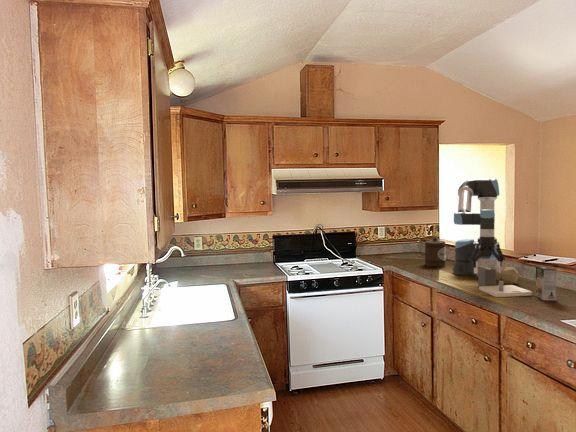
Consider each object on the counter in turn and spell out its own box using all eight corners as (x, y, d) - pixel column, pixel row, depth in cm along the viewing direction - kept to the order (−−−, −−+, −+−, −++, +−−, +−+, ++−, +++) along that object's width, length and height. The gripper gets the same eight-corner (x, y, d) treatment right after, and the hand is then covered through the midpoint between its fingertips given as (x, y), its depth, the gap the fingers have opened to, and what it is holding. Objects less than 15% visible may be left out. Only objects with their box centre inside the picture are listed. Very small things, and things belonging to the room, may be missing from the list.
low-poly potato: (516, 282, 245) (498, 271, 251) (525, 268, 239) (505, 258, 245) (508, 293, 235) (489, 282, 241) (517, 279, 229) (497, 268, 235)
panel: (479, 289, 226) (479, 277, 226) (512, 288, 228) (512, 276, 227) (496, 297, 210) (496, 283, 210) (531, 295, 212) (532, 282, 212)
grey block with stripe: (478, 286, 234) (478, 266, 233) (489, 286, 234) (489, 266, 234) (484, 289, 227) (484, 268, 227) (495, 288, 228) (495, 268, 227)
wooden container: (443, 267, 295) (443, 238, 293) (423, 266, 302) (423, 237, 301) (446, 264, 307) (446, 235, 306) (426, 263, 315) (426, 235, 314)
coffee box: (534, 295, 211) (535, 265, 210) (548, 296, 210) (548, 265, 209) (542, 300, 202) (543, 269, 201) (556, 300, 201) (557, 269, 200)
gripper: (469, 237, 224) (469, 274, 225) (511, 236, 226) (511, 273, 227) (462, 236, 232) (462, 272, 233) (503, 235, 234) (503, 271, 235)
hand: (487, 272), depth 230 cm, fingers open, 13 cm apart
